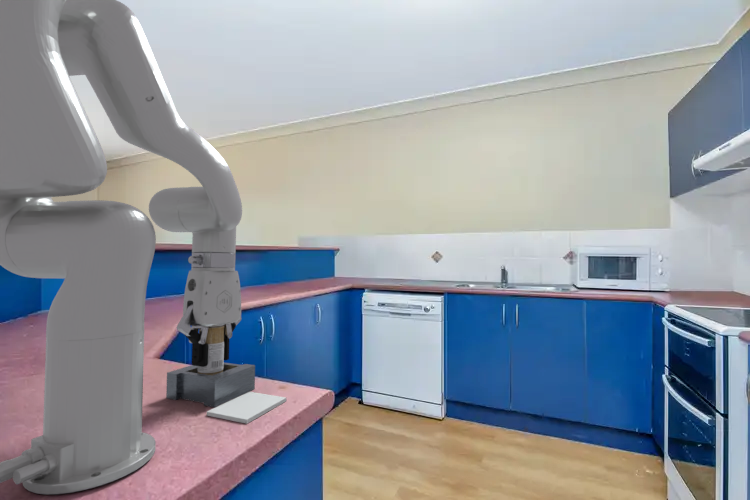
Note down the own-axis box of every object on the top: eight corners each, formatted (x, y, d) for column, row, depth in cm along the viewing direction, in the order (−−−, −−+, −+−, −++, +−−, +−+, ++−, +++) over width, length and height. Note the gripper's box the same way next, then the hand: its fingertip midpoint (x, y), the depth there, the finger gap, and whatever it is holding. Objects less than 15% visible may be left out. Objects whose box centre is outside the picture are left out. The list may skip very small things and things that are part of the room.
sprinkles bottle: (218, 383, 72) (221, 312, 73) (226, 389, 68) (228, 314, 69) (193, 387, 69) (195, 314, 70) (199, 394, 65) (202, 316, 66)
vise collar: (214, 407, 63) (214, 380, 63) (166, 398, 67) (166, 372, 67) (254, 388, 72) (255, 365, 72) (210, 381, 76) (210, 359, 76)
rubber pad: (246, 423, 56) (247, 419, 56) (206, 415, 59) (206, 411, 59) (286, 401, 66) (286, 397, 66) (249, 394, 69) (249, 391, 69)
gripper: (191, 262, 61) (187, 376, 60) (259, 264, 76) (257, 355, 75) (158, 262, 64) (154, 371, 63) (231, 264, 79) (228, 351, 78)
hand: (210, 361), depth 69 cm, fingers closed on sprinkles bottle, 4 cm apart
